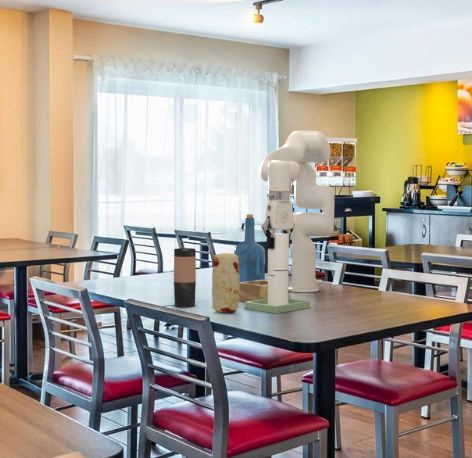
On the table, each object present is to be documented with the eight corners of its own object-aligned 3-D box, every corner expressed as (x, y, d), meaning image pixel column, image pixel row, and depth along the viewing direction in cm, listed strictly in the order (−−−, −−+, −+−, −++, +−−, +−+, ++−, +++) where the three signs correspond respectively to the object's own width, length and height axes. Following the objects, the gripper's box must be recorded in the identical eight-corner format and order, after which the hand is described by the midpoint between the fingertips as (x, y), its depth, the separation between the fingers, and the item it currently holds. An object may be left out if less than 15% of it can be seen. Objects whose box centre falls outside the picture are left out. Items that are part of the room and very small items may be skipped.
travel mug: (199, 304, 277) (199, 248, 275) (190, 308, 269) (190, 250, 268) (179, 303, 279) (179, 247, 278) (170, 306, 272) (170, 249, 271)
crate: (260, 298, 293) (260, 279, 293) (283, 301, 285) (283, 282, 285) (238, 301, 285) (238, 282, 284) (261, 305, 277) (261, 285, 276)
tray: (279, 302, 282) (279, 296, 282) (310, 307, 272) (310, 301, 272) (244, 308, 270) (244, 301, 270) (275, 313, 260) (275, 306, 260)
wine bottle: (246, 282, 338) (246, 213, 336) (271, 285, 330) (271, 214, 328) (226, 285, 327) (226, 214, 325) (251, 288, 319) (252, 215, 317)
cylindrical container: (286, 307, 267) (286, 234, 265) (265, 306, 268) (266, 234, 267) (289, 304, 274) (290, 233, 272) (269, 303, 275) (270, 232, 274)
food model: (208, 312, 260) (208, 253, 259) (216, 309, 266) (217, 251, 265) (235, 314, 257) (236, 254, 255) (243, 311, 263) (243, 252, 262)
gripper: (269, 197, 260) (268, 250, 261) (303, 196, 272) (303, 247, 274) (253, 196, 265) (253, 248, 266) (287, 196, 278) (287, 246, 279)
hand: (278, 247), depth 270 cm, fingers closed on cylindrical container, 7 cm apart
